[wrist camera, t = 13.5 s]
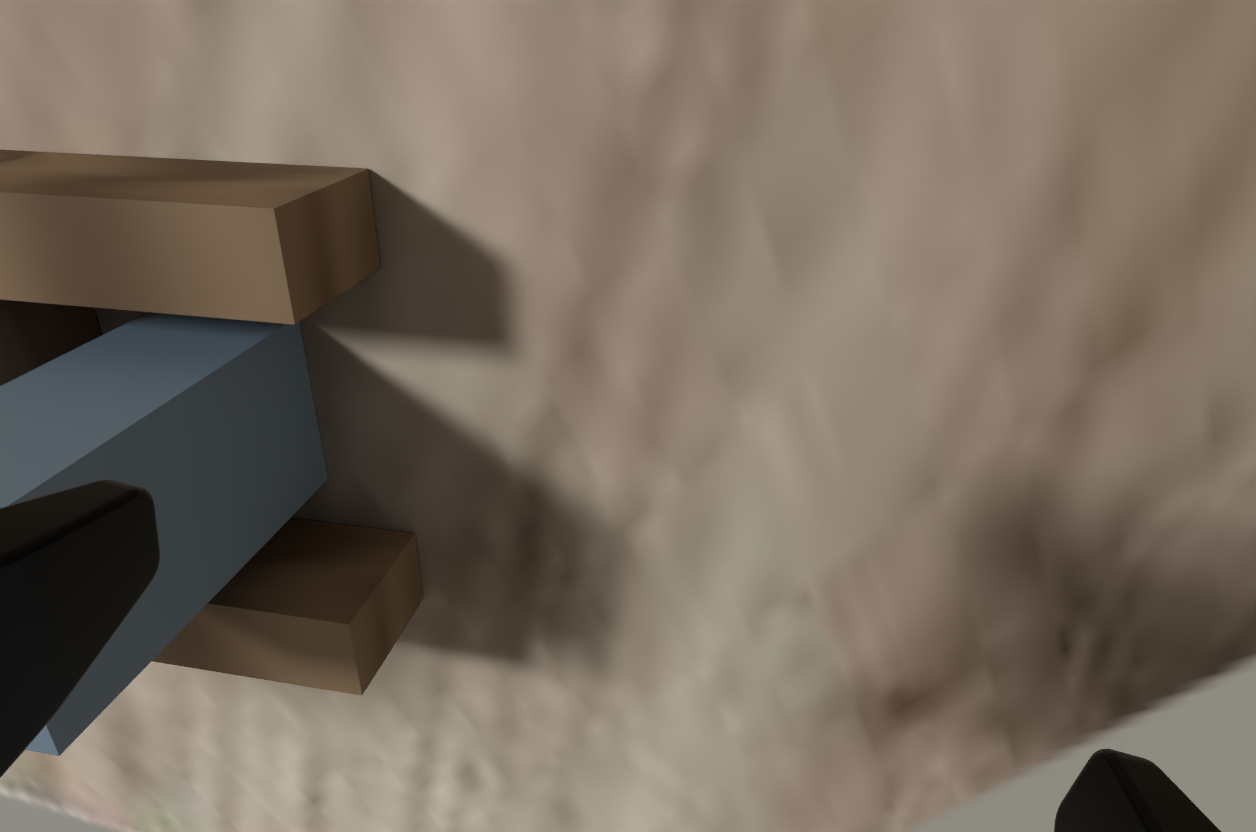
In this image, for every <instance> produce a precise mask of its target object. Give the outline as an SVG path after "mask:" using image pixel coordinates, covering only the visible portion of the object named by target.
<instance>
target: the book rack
mask: <svg viewBox="0 0 1256 832" xmlns="http://www.w3.org/2000/svg"><path fill="white" fill-rule="evenodd" d="M380 268H381V264H380V256H379V249H378V241H377V233H376V225H375V217H374V209H373V202H372V194H371V186H370V178H369V170H368V169H363V168H344V167H324V166H305V165H285V164H266V163H246V162H227V161H207V160H188V159H168V158H149V157H129V156H110V155H90V154H71V153H52V152H32V151H13V150H0V386H2V385H4V384H6V383H8V382H10V381H12V380H14V379H16V378H18V377H20V376H22V375H24V374H26V373H28V372H30V371H32V370H34V369H36V368H38V367H40V366H42V365H44V364H46V363H48V362H50V361H52V360H54V359H56V358H58V357H60V356H62V355H64V354H66V353H68V352H70V351H72V350H74V349H76V348H78V347H80V346H82V345H84V344H86V343H88V342H90V341H92V340H94V339H96V338H98V337H100V336H102V335H101V332H100V329H99V325H98V322H97V318H96V315H95V312H94V308H93V307H95V308H106V309H118V310H130V311H141V312H153V313H165V314H177V315H188V316H200V317H212V318H223V319H235V320H247V321H258V322H270V323H282V324H293V325H295V324H296V323H298V322H299V321H301V320H302V319H304V318H305V317H307V316H309V315H310V314H312V313H313V312H315V311H316V310H318V309H319V308H321V307H322V306H324V305H325V304H327V303H328V302H330V301H331V300H333V299H334V298H336V297H337V296H339V295H340V294H342V293H343V292H345V291H346V290H348V289H349V288H351V287H352V286H354V285H355V284H357V283H358V282H360V281H361V280H363V279H364V278H366V277H367V276H369V275H370V274H372V273H373V272H375V271H377V270H378V269H380ZM422 600H423V593H422V585H421V577H420V569H419V562H418V554H417V546H416V538H415V534H414V533H406V532H398V531H390V530H383V529H375V528H367V527H359V526H351V525H343V524H335V523H327V522H320V521H312V520H304V519H296V518H290V519H289V520H288V521H287V522H286V523H285V524H284V525H283V526H282V527H281V528H280V529H279V530H278V531H277V532H276V533H275V534H274V535H273V536H272V537H271V539H270V540H269V541H268V542H267V543H266V544H265V545H264V546H263V547H262V548H261V549H260V550H259V551H258V552H257V553H256V554H255V555H254V556H253V557H252V558H251V559H250V560H249V561H248V562H247V563H246V564H245V565H244V566H243V567H242V568H241V569H240V570H239V571H238V572H237V573H236V575H235V576H234V577H233V578H232V579H231V580H230V581H229V582H228V583H227V584H226V585H225V586H224V587H223V588H222V589H221V590H220V591H219V592H218V593H217V594H216V595H215V596H214V597H213V598H212V599H211V600H210V601H209V602H208V603H207V604H206V605H205V606H204V607H203V608H202V609H201V611H200V612H199V613H198V614H197V615H196V616H195V617H194V618H193V619H192V620H191V621H190V622H189V623H188V624H187V625H186V626H185V627H184V628H183V629H182V630H181V631H180V632H179V633H178V634H177V635H176V636H175V637H174V638H173V639H172V640H171V641H170V642H169V643H168V644H167V645H166V647H165V648H164V649H163V650H162V651H161V652H160V653H159V654H158V655H157V656H156V657H155V658H154V659H153V660H152V661H154V662H160V663H166V664H173V665H179V666H185V667H191V668H197V669H203V670H209V671H216V672H222V673H228V674H234V675H240V676H246V677H252V678H259V679H265V680H271V681H277V682H283V683H289V684H295V685H302V686H308V687H314V688H320V689H326V690H332V691H338V692H345V693H351V694H357V695H363V693H364V691H365V690H366V688H367V687H368V685H369V684H370V682H371V680H372V679H373V677H374V676H375V674H376V672H377V671H378V669H379V668H380V666H381V665H382V663H383V661H384V660H385V658H386V657H387V655H388V654H389V652H390V650H391V649H392V647H393V646H394V644H395V643H396V641H397V639H398V638H399V636H400V635H401V633H402V631H403V630H404V628H405V627H406V625H407V624H408V622H409V620H410V619H411V617H412V616H413V614H414V613H415V611H416V609H417V608H418V606H419V605H420V603H421V601H422Z"/></svg>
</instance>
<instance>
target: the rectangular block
mask: <svg viewBox="0 0 1256 832" xmlns="http://www.w3.org/2000/svg"><path fill="white" fill-rule="evenodd" d="M99 480H115V481H119V482H123V483H126V484H130V485H134V486H138V487H141V488H144V489H145V490H147V491H148V492H149V493H150V495H151V496H152V498H153V501H154V506H155V515H156V523H157V531H158V540H159V548H160V561H159V566H158V569H157V572H156V574H155V576H154V578H153V580H152V582H151V583H150V585H149V586H148V587H147V589H146V590H145V592H144V593H143V594H142V596H141V597H140V599H139V600H138V601H137V603H136V604H135V605H134V607H133V608H132V610H131V611H130V612H129V614H128V615H127V617H126V618H125V619H124V621H123V622H122V624H121V625H120V626H119V628H118V629H117V631H116V632H115V633H114V635H113V636H112V637H111V639H110V640H109V642H108V643H107V644H106V646H105V647H104V649H103V650H102V651H101V653H100V654H99V656H98V657H97V658H96V660H95V661H94V662H93V664H92V665H91V667H90V668H89V669H88V671H87V672H86V674H85V675H84V676H83V678H82V679H81V681H80V682H79V683H78V685H77V686H76V688H75V689H74V690H73V692H72V693H71V694H70V695H69V697H68V698H67V699H66V701H65V702H64V703H63V705H62V706H61V707H60V709H59V710H58V711H57V712H56V714H55V715H54V716H53V717H52V718H51V720H50V721H49V722H48V723H47V724H46V726H45V727H44V728H43V729H42V730H41V732H40V733H39V734H38V735H37V736H36V738H35V739H34V740H33V741H32V742H31V743H30V744H29V746H28V747H27V748H26V749H25V750H30V751H35V752H41V753H46V754H51V755H57V756H60V755H61V753H62V752H63V751H64V750H65V749H66V748H67V747H68V746H69V745H70V744H71V743H72V742H73V741H74V740H75V739H76V738H77V737H78V736H79V735H80V734H81V733H82V732H83V731H84V730H85V729H86V728H87V727H88V726H89V725H90V724H91V723H92V722H93V721H94V720H95V719H96V717H97V716H98V715H99V714H100V713H101V712H102V711H103V710H104V709H105V708H106V707H107V706H108V705H109V704H110V703H111V702H112V701H113V700H114V699H115V698H116V697H117V696H118V695H119V694H120V693H121V692H122V691H123V690H124V689H125V688H126V687H127V686H128V685H129V684H130V683H131V681H132V680H133V679H134V678H135V677H136V676H137V675H138V674H139V673H140V672H141V671H142V670H143V669H144V668H145V667H146V666H147V665H148V664H149V663H150V662H151V661H152V660H153V659H154V658H155V657H156V656H157V655H158V654H159V653H160V652H161V651H162V650H163V649H164V648H165V647H166V645H167V644H168V643H169V642H170V641H171V640H172V639H173V638H174V637H175V636H176V635H177V634H178V633H179V632H180V631H181V630H182V629H183V628H184V627H185V626H186V625H187V624H188V623H189V622H190V621H191V620H192V619H193V618H194V617H195V616H196V615H197V614H198V613H199V612H200V611H201V609H202V608H203V607H204V606H205V605H206V604H207V603H208V602H209V601H210V600H211V599H212V598H213V597H214V596H215V595H216V594H217V593H218V592H219V591H220V590H221V589H222V588H223V587H224V586H225V585H226V584H227V583H228V582H229V581H230V580H231V579H232V578H233V577H234V576H235V575H236V573H237V572H238V571H239V570H240V569H241V568H242V567H243V566H244V565H245V564H246V563H247V562H248V561H249V560H250V559H251V558H252V557H253V556H254V555H255V554H256V553H257V552H258V551H259V550H260V549H261V548H262V547H263V546H264V545H265V544H266V543H267V542H268V541H269V540H270V539H271V537H272V536H273V535H274V534H275V533H276V532H277V531H278V530H279V529H280V528H281V527H282V526H283V525H284V524H285V523H286V522H287V521H288V520H289V519H290V518H291V517H292V516H293V515H294V514H295V513H296V512H297V511H298V510H299V509H300V508H301V507H302V506H303V505H304V504H305V503H306V501H307V500H308V499H309V498H310V497H311V496H312V495H313V494H314V493H315V492H316V491H317V490H318V489H319V488H320V487H321V486H322V485H323V484H324V483H325V482H326V481H327V480H328V477H327V471H326V466H325V460H324V455H323V449H322V444H321V438H320V433H319V427H318V422H317V416H316V411H315V405H314V400H313V394H312V389H311V383H310V378H309V373H308V367H307V362H306V356H305V351H304V345H303V340H302V334H301V329H300V323H299V322H298V323H296V324H295V325H293V324H282V323H270V322H258V321H247V320H235V319H223V318H212V317H200V316H188V315H177V314H165V313H153V312H148V313H146V314H144V315H142V316H140V317H138V318H136V319H134V320H132V321H130V322H128V323H126V324H124V325H122V326H120V327H118V328H116V329H114V330H112V331H110V332H108V333H106V334H104V335H102V336H100V337H98V338H96V339H94V340H92V341H90V342H88V343H86V344H84V345H82V346H80V347H78V348H76V349H74V350H72V351H70V352H68V353H66V354H64V355H62V356H60V357H58V358H56V359H54V360H52V361H50V362H48V363H46V364H44V365H42V366H40V367H38V368H36V369H34V370H32V371H30V372H28V373H26V374H24V375H22V376H20V377H18V378H16V379H14V380H12V381H10V382H8V383H6V384H4V385H2V386H0V508H3V507H6V506H10V505H13V504H17V503H21V502H24V501H28V500H31V499H35V498H38V497H42V496H46V495H49V494H53V493H56V492H60V491H63V490H67V489H71V488H74V487H78V486H81V485H85V484H88V483H92V482H96V481H99Z"/></svg>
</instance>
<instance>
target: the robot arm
mask: <svg viewBox="0 0 1256 832" xmlns="http://www.w3.org/2000/svg"><path fill="white" fill-rule="evenodd" d="M159 561H160V548H159V540H158V531H157V523H156V515H155V506H154V501H153V498H152V496H151V495H150V493H149V492H148V491H147V490H145V489H144V488H141V487H138V486H134V485H130V484H126V483H123V482H119V481H115V480H99V481H96V482H92V483H88V484H85V485H81V486H78V487H74V488H71V489H67V490H63V491H60V492H56V493H53V494H49V495H46V496H42V497H38V498H35V499H31V500H28V501H24V502H21V503H17V504H13V505H10V506H6V507H3V508H0V778H1V776H2V775H3V774H4V773H5V772H6V771H7V770H8V768H9V767H10V766H11V765H12V764H13V763H14V762H15V760H16V759H17V758H18V757H19V756H20V755H21V754H22V752H23V751H24V750H25V749H26V748H27V747H28V746H29V744H30V743H31V742H32V741H33V740H34V739H35V738H36V736H37V735H38V734H39V733H40V732H41V730H42V729H43V728H44V727H45V726H46V724H47V723H48V722H49V721H50V720H51V718H52V717H53V716H54V715H55V714H56V712H57V711H58V710H59V709H60V707H61V706H62V705H63V703H64V702H65V701H66V699H67V698H68V697H69V695H70V694H71V693H72V692H73V690H74V689H75V688H76V686H77V685H78V683H79V682H80V681H81V679H82V678H83V676H84V675H85V674H86V672H87V671H88V669H89V668H90V667H91V665H92V664H93V662H94V661H95V660H96V658H97V657H98V656H99V654H100V653H101V651H102V650H103V649H104V647H105V646H106V644H107V643H108V642H109V640H110V639H111V637H112V636H113V635H114V633H115V632H116V631H117V629H118V628H119V626H120V625H121V624H122V622H123V621H124V619H125V618H126V617H127V615H128V614H129V612H130V611H131V610H132V608H133V607H134V605H135V604H136V603H137V601H138V600H139V599H140V597H141V596H142V594H143V593H144V592H145V590H146V589H147V587H148V586H149V585H150V583H151V582H152V580H153V578H154V576H155V574H156V572H157V569H158V566H159ZM1054 832H1221V831H1220V830H1219V829H1218V828H1217V827H1216V826H1215V825H1214V824H1213V823H1212V822H1211V821H1210V820H1209V819H1208V818H1207V817H1206V816H1205V815H1204V814H1203V813H1202V812H1201V811H1200V810H1199V808H1198V807H1196V805H1195V804H1194V803H1193V802H1191V800H1190V799H1189V798H1188V797H1187V796H1186V795H1185V794H1184V793H1183V792H1182V791H1181V790H1180V789H1179V788H1178V787H1177V786H1176V785H1175V784H1174V783H1173V782H1172V781H1171V780H1170V779H1169V778H1168V777H1167V776H1166V774H1165V773H1164V772H1163V771H1162V770H1161V769H1160V768H1159V767H1157V766H1156V765H1155V764H1154V763H1152V762H1151V761H1149V760H1147V759H1144V758H1140V757H1137V756H1133V755H1130V754H1126V753H1122V752H1119V751H1115V750H1111V749H1101V750H1099V751H1097V752H1095V753H1094V754H1093V755H1092V756H1091V758H1090V759H1089V760H1088V762H1087V763H1086V765H1085V767H1084V768H1083V770H1082V771H1081V773H1080V774H1079V776H1078V777H1077V779H1076V780H1075V782H1074V784H1073V785H1072V787H1071V789H1070V790H1069V791H1068V793H1067V794H1066V796H1065V798H1064V799H1063V801H1062V802H1061V804H1060V806H1059V808H1058V811H1057V814H1056V819H1055V828H1054Z"/></svg>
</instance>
